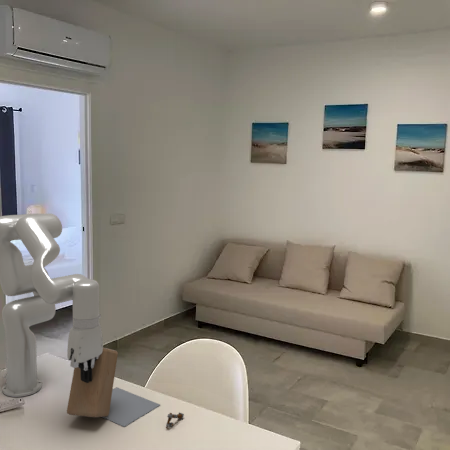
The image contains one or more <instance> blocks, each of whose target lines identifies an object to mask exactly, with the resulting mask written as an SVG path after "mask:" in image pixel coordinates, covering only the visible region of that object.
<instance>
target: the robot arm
mask: <svg viewBox="0 0 450 450" xmlns="http://www.w3.org/2000/svg"><path fill="white" fill-rule="evenodd" d="M62 232H63V224H62V221H61V220H60V218H59V217H58V216H57V215H55V214H54V213H24V214H10V215H9V214H7V215H2V216H1V215H0V289H1V290H2V293H3V295H5V296H7V297H16V296H21V295H22V296H23V295H27V294H30V293H32V295H33V296H28V297H23V298H17V299H14V300H12V301H9V302H8V303H6V304H5V305H4V306H3V308H2V310H1V318H2V323H3V327H4V333H5V335H4V336H5V348H6V350H5V351H6V354H5V355H6V373H4V374H3V379H5V380H6V383H5V384H3V386H2V393H3V394H4V395H5V396H7V397H13V398H22V397H27V396H31V395H34V394H36V393H37V392H39V391H40V390H41V389H42V387H43V383H42V381H41V380H40V379H38V362H37V337H36V335H35V334H34V332H33V331H32V330H31V329H30V327H31V326H34V325H38V324H41V323H44V322H47V321H51V320H52V319H53V318H54V317H55V315H56V305H57V304H63V303H66V302H69V301H72V327H71V328H70V329H69V334H68V340H67V360H68V361H70V364H69V365H70V367H71V368H73V369H74V368H77V367H79V369H81V381H83V382H86V383H89V382H91V381H92V368H93V367H94V363H95V361H96V360H97V359H98V358H100V356H101V354H102V352H103V348H104V339H103V330H102V326H101V323H100V319H101V318H102V315H101V313H100V284H99V282H98V281H97V280H96V279H92V278H91V279H90V278H88V277H86V276H85V275H83V274H81V273H73V274H70V275H69V274H68V275H63V276H58V277H54V278H51V277H50V275H49V273H48V270H47V269H46V268H45V267H47V266H48V265H50V264H51V263H52V262H54V261H55V260H56V259H57V257H58V256H59V255H60V252H61V248H60V245H59V244H58V242H57V241H56V239H57V238H59V237H60V236H61V235H62ZM19 240H20V241H21V242H22V244H23V246H24V247H25V249H26V250H27V251H28V252H29V254H30V256H31V257H32V259H33V262H32V264H28V265H25V262H24V257H23V254H22V251H21V250H20V249H19V248H18V247H17V246H16V245H15V244H14V243H13V242H12V241H19Z"/></svg>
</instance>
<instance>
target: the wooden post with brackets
mask: <svg viewBox="0 0 450 450" xmlns="http://www.w3.org/2000/svg"><path fill="white" fill-rule="evenodd" d="M184 416H185V413H182V412H180V411H179V412H178V414H176V413H175V414H174V413H172V412H169V413H168V414H167V416H166V417H167V422H166V424H165V425H166V426H165V429H167V430H168V429H169V428H170V427H174V426H175V425H174V424H175V423H174V422H171V421H172V419H178V420H182V421H183V419H184Z"/></svg>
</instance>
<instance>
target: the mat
mask: <svg viewBox="0 0 450 450" xmlns="http://www.w3.org/2000/svg"><path fill="white" fill-rule="evenodd" d="M159 407H161V404H160V403H157V402H155V401H152V400H150V399H148V398H145V397H143V396H141V395H140V396H139V395H137V394H135V393H132V392H130V391H127V390H125V389H122V388H121V387H115V388H114V387H113V390H112V397H111V403H110V410H109V415H108V416H106V417H102V418H103V419H105V420H108V421H109V420H110V421H109V422H111V421H112V422H111V423H114V424H115V425H118V426H121V427H123V428H126V427H127V426H129V425H131V424H132V423H134V422H135V421H137V420H138V419H140V418H143V416H144V417H145V415H147V414H149V413H150V412H152V411H154V410H155V409H157V408H159Z"/></svg>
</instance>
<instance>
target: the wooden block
mask: <svg viewBox="0 0 450 450" xmlns="http://www.w3.org/2000/svg"><path fill="white" fill-rule="evenodd" d="M118 355H119V352H118V351H117V350H116V349H115V350H114V349H111V348H107V347H103V352H102V354H101V356H100V358H98V359H97V360H96V361H95V363H94V367H93V368H92V381H91V382H89V383H86V382H83V381H81V369H79V367H77V368H73V373H72V379H71V384H70V391H69V397H68V402H67V407H66V414H68V415H69V416H79V417H85V418H86V417H88V418H103V417H106V416H108V415H109V410H110V403H111V397H112V390H113V389H114V381H115V376H116V369H117V368H116V367H117V361H118V357H119V356H118Z"/></svg>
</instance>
